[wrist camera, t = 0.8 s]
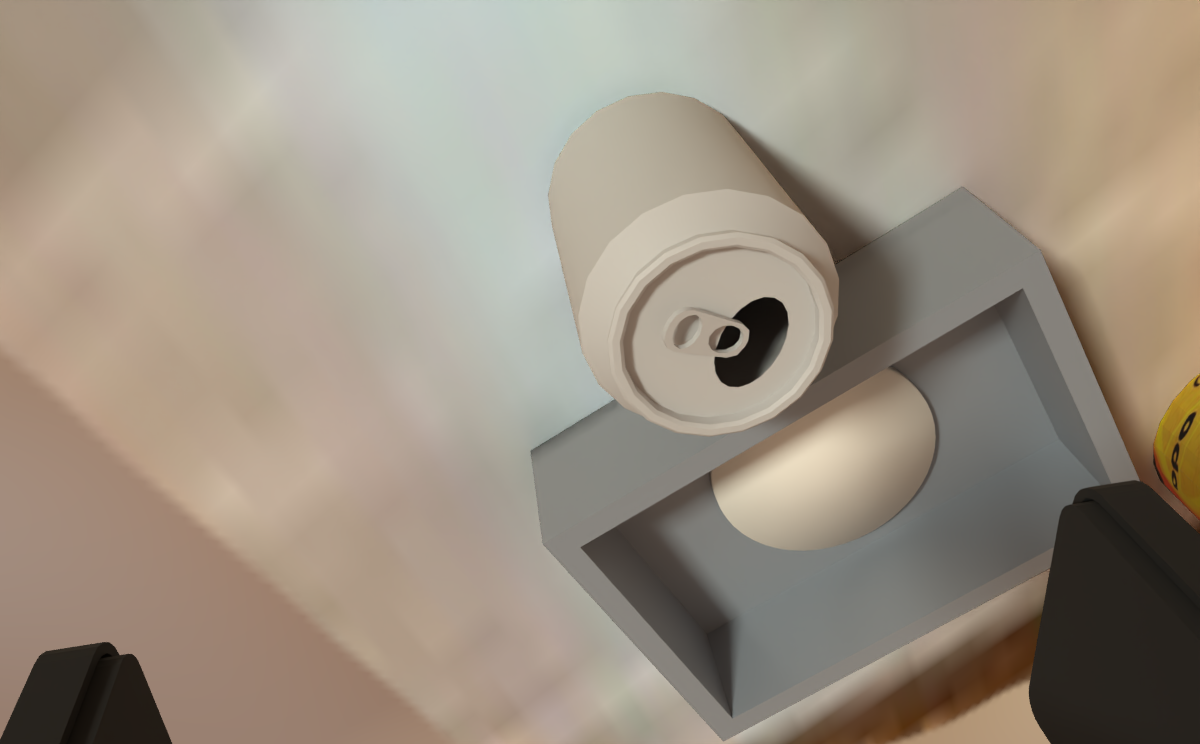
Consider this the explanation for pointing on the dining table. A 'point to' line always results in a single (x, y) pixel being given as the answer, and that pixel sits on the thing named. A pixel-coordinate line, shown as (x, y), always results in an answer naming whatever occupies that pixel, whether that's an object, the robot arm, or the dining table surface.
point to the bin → (846, 478)
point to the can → (689, 268)
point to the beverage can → (1181, 447)
